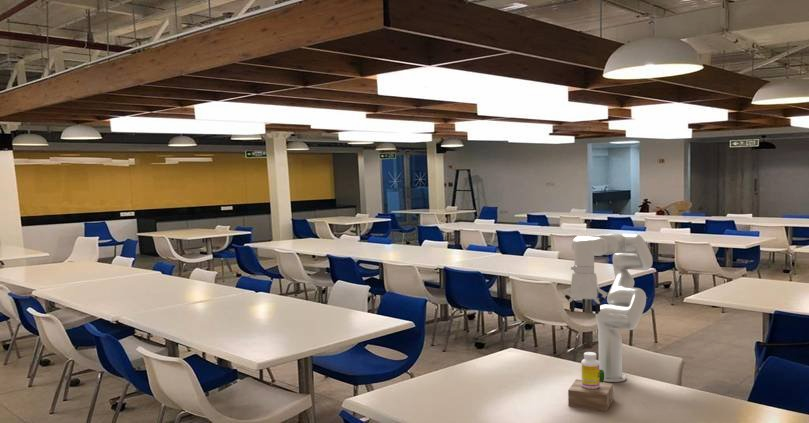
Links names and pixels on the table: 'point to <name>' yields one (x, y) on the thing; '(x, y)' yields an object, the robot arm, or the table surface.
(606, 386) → the walnut block
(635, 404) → the table surface
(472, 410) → the table surface
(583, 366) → the supplement bottle
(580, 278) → the robot arm
